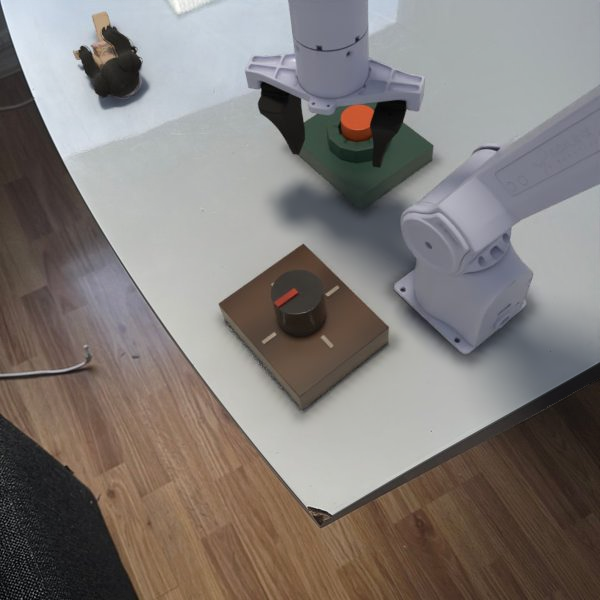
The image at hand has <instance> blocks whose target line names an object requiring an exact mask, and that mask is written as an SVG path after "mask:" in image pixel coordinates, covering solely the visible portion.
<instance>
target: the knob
mask: <svg viewBox="0 0 600 600" xmlns="http://www.w3.org/2000/svg"><path fill="white" fill-rule="evenodd" d="M271 298H272V302H273V306H274V310H275V314H276V317H277V321H278V324H279V326H280V327H281V328H282V329H283V330H284V331H285V332H286V333H288V334H290V335H293V336H301V337H302V336H308V335H311V334H313V333H315V332H316V331H318V330H319V329H320V328H321V327H322V325H323V323H324V322H325V319H326V307H325V300H324V292H323V286H322V283H321V281H320V280H319V278H318V277H317V276H316V275H314V274H313V273H311V272H309V271H305V270H292V271H288V272H286V273H284V274H282V275H281V276H280V277H278V278H277V279H276V281H275V282H274V284H273V286H272V289H271Z"/></svg>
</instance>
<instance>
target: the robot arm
mask: <svg viewBox="0 0 600 600" xmlns="http://www.w3.org/2000/svg"><path fill="white" fill-rule="evenodd" d="M287 2H288V11H289V18H290V25H291V35H292V43H293V52H289V53H288V52H287V53H280V54H269V55H261V54H260V55H259V54H252V55H251V57H250V58H249V60H248V63H247V65H246V66H245V69H244V73H245V78H246V82H247V88H248V89H252V90H260V97H259V99H258V101H257V108H258V111H259V114H260V115H262V116H263V117H265V118H266V119H267V120H268V121H270V122H271V123H272V124H273V126H275V128H276V129H277V130H278V131H279V133H280V134H281V135H282V137H283V139H284V141H285V142H286V144H287V146H288V148H289V150H290V152H291V153H292V155H294V156H295V155H297V156H299V154H300V151H301V148H302V146H303V143H304V141H305V127H304V122H305V121H304V114H303V107H302V101H305V102H308V103H307V105H308V111H309V112H310V113H312V114H314V115H316V114H322V115H331V114H333V113H334V112H335V109H336V107H340V106H348V105H357V104H366V103H374V102H377V105H376V107H375V110H374V113H373V116H372V119H371V122H370V129H371V132H372V137H373V158H372V164H373V167H377V168H380V167H381V165H382V162H383V158H384V155H385V150H386V147H387V146H388V144H389V142H390V141H391V140H392V138H393V137H394V136H395V135H396V134H397V133H398V131H399V130H400V128H401V126H402V124H403V122H404V120H405V116H406V114H407V111H411V112H420V110H421V107H422V102H423V100H424V95H425V85H426V76H425V75H419V74H414V73H410V72H407V71H404V70H401V69H400V68H396V67H394V66H391V65H389V64H387V63H384V62H382V61H379V60H377V59H375V58H372V57H370V55H369V54H370V51H369V48H370V47H369V46H370V45H369V43H370V42H369V0H287ZM599 185H600V84H598V85H596V86H595V87H594V88H592V89H590V90H589V91H588V92H586V93H584V94H583V95H582V96H580V97H579V98H577V99H576V100H574V101H572V102H571V103H569V104H568V105H567V106H565V107H564V108H562V109H560V110H559V111H558V112H556V113H555V114H553V115H551V116H549V118H547V119H546V120H544V121H543V122H541V123H540V124H538V125H537V126H535V127H534V128H533V129H531V130H529V131H528V132H527V133H525V134H523V135H522V136H520V135H515V136H514V137H512V138H511V139H509V140H507V141H504V142H490V141H489V142H485V143H483V144H481V145H479V146H478V147H476V148H475V149H474V150H473V151H472V153H471V154H470V156H468V158H466V159H465V161H463V162H462V163H461V164H460V165H459V166H458V167H456V168H455V169H454V170H453V171H452V172H451V173H450V174H448V175H447V176H446V177H445V178H444V179H443V180H441V181H440V182H439V183H438V184H437V185H436V186H435V187H433V188H432V189H431V190H430V191H429V192H428V193H426V195H424V196H423V197H422V198H421V199H420V200H418V201H417V202H416V203H415V204H413V205H411V206H408V207H407V208H406V209H405V210H404V211H403V212H402V214H401V215H400V229H401V234H402V238H403V240H404V242H405V245H406V246H407V248H408V249H409V251H410V252H411V253H412V255H413V256H414V258H416V260H415V261H416V263H415V267H414V269H412V270H411V271H410V272H408V273H406V275H404V276H403V277H402V278H401V279H399V280H398V281H396V282H395V283H394V285H393V290H394V291H395V292H396V294H397V295H399V296H400V297H401V298H402V299H403V300H404V301H405V302H406V303H407V304H408V305H409V306H411V308H412V309H414V310H415V311H416V312H417V313H418V314H419V315H420V316H421V317H422V318H423V319H424V320H425V321H427V323H428V324H429V325H431V327H432V328H434V329H435V330H436V331H437V332H438V333H439V334H440V335H441V336H442V337H443V338H444V339H446V341H448V343H449V344H451V345H452V346H453V347H454V348H455V349H456V350H457V351H459V353H460V354H462V355H469V354H470V353H472V352H473V351H475V349H476V348H477V347H479V346H480V345H481V344H483V343H484V342H485V341H486V340H487V339H488V338H490V337H491V336H492V335H493V334H494V333H496V332H497V331H498V330H500V329H501V328H502V327H504V325H506V324H507V323H508V322H509V321H510V320H511V319H512V318H514V317H515V316H516V315H517V314H519V313H520V312H522V310H523V309H525V308H526V306H527V300H526V297H527V294H528V291H529V289H530V286H531V284H532V281H533V278H534V271H533V270H532V269H531V268H530V267H529V266H528V265H527V264H526V262H524V261H523V259H521V257H520V255H519V254H518V253H517V251H516V250H515V248H514V246H513V243H512V241H511V238H512V228H513V227H514V226H516V225H517V224H518V223H519V222H521V221H522V220H525V219H527V218H529V217H532V216H533V215H535V214H538V213H540V212H542V211H545V210H547V209H549V208H551V207H554V206H556V205H558V204H559V203H562V202H564V201H567V200H569V199H571V198H573V197H575V196H577V195H580V194H582V193H584V192H586V191H588V190H591V189H592V188H595V187H597V186H599ZM402 290H404V291H402ZM455 340H457V341H459V342H457V341H455Z"/></svg>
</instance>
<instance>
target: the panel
mask: <svg viewBox="0 0 600 600" xmlns="http://www.w3.org/2000/svg"><path fill="white" fill-rule="evenodd" d="M292 270H305V271H309V272H311V273H313V274H314V275H316V276H317V277H318V278H319V280H320V281H321V283H322V286H323V292H324V300H325V307H326V319H325V322H324V323H323V325H322V327H321V328H320V329H319V330H318V331H316V332H315V333H313V334H311V335H308V336H302V337H301V336H293V335H290V334H288V333H286V332H285V331H284V330H283V329H282V328H281V327H280V326H279V324H278V321H277V317H276V314H275V310H274V306H273V302H272V298H271V289H272V286H273V284H274V282H275V281H276V279H277V278H278V277H280V276H281V275H282V274H284V273H286V272H288V271H292ZM218 306H219V309H220V312H221V314H222V317H223V319H224V321H225V322H226V324H228V325H229V326H230V328H231V329H232V330H233V331H234V332H235V333H236V335H237V336H238V337H239V338H240V339H241V340H242V342H243V343H244V344H245V345H246V346H247V347H248V349H249V350H250V351H251V352H252V354H253V355H254V356H255V357H256V358H257V359H258V360H259V361H260V362H261V364H262V365H263V366H264V368H266V370H267V371H268V372H269V373H270V374H271V375H272V376H273V378H274V379H275V380H276V381H277V382H278V383H279V385H280V386H281V387H282V389H284V391H285V392H286V393H287V394H288V395H289V397H290V398H291V399H292V400H293V401H294V403H296V404H297V405H298V407H299V408H300V409H301V410H305V409H306V408H307V407H309V406H310V405H311V404H313V403H314V402H315V401H316V400H318V399H319V398H320V397H321V396H323V394H325V393H326V392H327V391H329V390H330V389H331V388H333V387H334V386H335V385H336V384H338V383H339V382H340V381H341V380H343V379H344V378H345V377H347V376H348V375H349V374H350V373H352V372H353V371H354V370H355V369H356V368H358V367H359V366H360V365H362V364H363V363H364V362H366V361H367V360H368V359H369V358H371V357H372V356H373V355H374V354H376V353H377V352H378V351H380V349H382V348H383V347H384V346H386V345H387V344H388V343H389V336H390V327H389V325H388V324H386V322H385V321H384V320H383V319H381V318H380V317H379V315H377V314H376V313H375V312H374V310H372V308H370V307H369V306H368V305H367V304H366V303H365V302H364V301H363V300H362V299H361V298H360V297H359V296H358V295H357V294H356V293H355V292H353V290H352V289H350V287H349V286H347V284H345V283H344V281H342V280H341V278H339V276H337V274H336V273H334V271H332V270H331V269H330V268H329V267H328V266H327V265H326V264H325V263H324V262H323V261H322V260H321V259H320V258H319V257H318V256H317V255H316V254H315V253H314V252H313V251H312V250H311V249H310V248H309V247H308V246H307V245H306V244H305V243H302V244H300V245H298V246H297V247H296V248H295V249H293V250H292V251H290V252H289V253H288V254H286V255H285V256H283V257H282V258H281V259H279V260H278V261H277V262H275V263H274V264H271V266H269V267H268V268H266V269H265V270H264V271H262V272H260V274H258V275H257V276H255V277H254V278H253V279H251V280H249V281H248V282H247V283H246V284H244V285H243V286H241V287H240V288H238V289H237V290H235V291H234V292H233V293H231V294H230V295H228V296H227V297H226V298H224V299H223V300H221V301H220V302H219V303H218Z"/></svg>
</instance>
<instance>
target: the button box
mask: <svg viewBox="0 0 600 600" xmlns="http://www.w3.org/2000/svg"><path fill="white" fill-rule="evenodd" d="M357 105H365V106H368V107H370V108H372V109H373V110H375V107H376V105H377V102H374V103H366V104H357ZM350 106H353V105H348V106H340V107H336V109H335V112H334V113H333V114H331V115H322V114H314V115H313V116H311V117H310V118H308V119H307V120H305V121H304V127H305V141H304V143H303V146H302V148H301V151H300V154H299V155H298V157H299V158H301V159H302V160H303V161H304V162H306V164H308V165H309V166H310V167H311V168H312V169H314V170H315V171H316V172H317V174H319V175H320V176H321V177H323V179H325V180H326V181H327V182H328V183H329V184H330V185H331V186H332V187H334V188H335V189H336V190H337V191H338V192H339V193H340V194H342V195H343V196H344V197H345V198H346V199H347V200H349V202H350V203H352V205H354V206H355V207H356V208H357V209H359V210H360V211H363V210H364V209H365V208H367V207H368V206H369V205H371V204H372V203H374V202H375V201H377V200H378V199H379V198H381V197H383V196H384V195H385V194H387V193H388V192H389V191H390V190H392V189H393V188H395V187H396V186H397V185H399V184H400V183H402V182H403V181H405V180H406V179H408V178H409V177H410V176H411V175H413V174H414V173H416V172H417V171H418V170H420V169H422V168H423V167H424V166H426V165H427V164H429V163H430V162H431V161H432V160H433V155H434V144H432V143H431V142H430V141H429V140H428V139H426V138H425V137H423V136H422V135H421V134H419V132H417V131H415V130H414V129H413V128H411V127H410V126H409V125H408V124H406V123H405V122H404V121H403V124H402V126H401V128H400V130H399V131H398V133H397V134H396V135H395V136H394V137H393V138H392V140H391V141H390V142H389V144H388V146H387V147H386V150H385V155H384V158H383V162H382V165H381V167H380V168H377V167H373V164H372V158H373V137H371V138H370V139H368V140H366V141H361V142H354V141H350V140H348V139H346V138H345V137H344V136H343V134H342V131H341V115H342V113H343V111H344V110H345V109H347V108H348V107H350Z"/></svg>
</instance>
